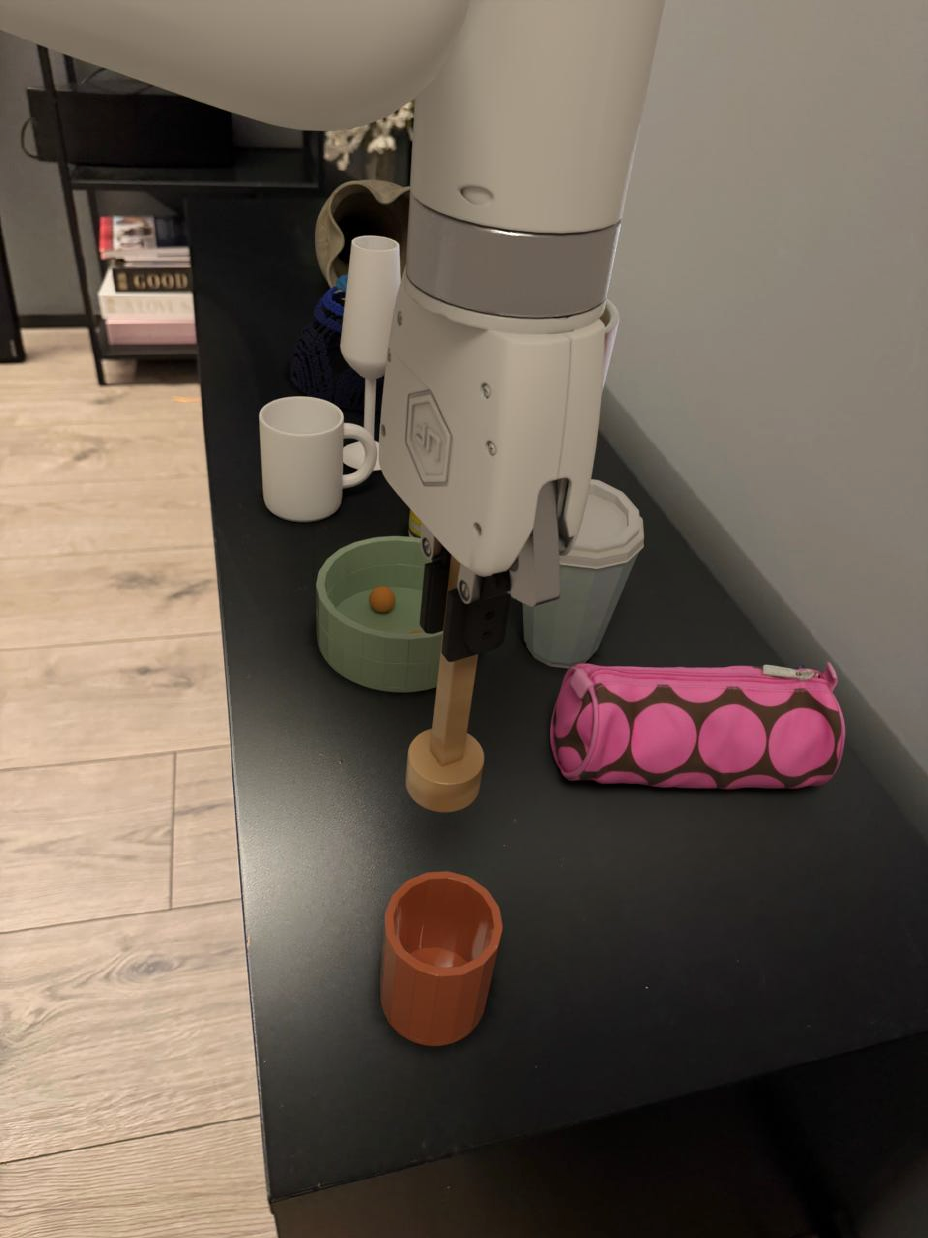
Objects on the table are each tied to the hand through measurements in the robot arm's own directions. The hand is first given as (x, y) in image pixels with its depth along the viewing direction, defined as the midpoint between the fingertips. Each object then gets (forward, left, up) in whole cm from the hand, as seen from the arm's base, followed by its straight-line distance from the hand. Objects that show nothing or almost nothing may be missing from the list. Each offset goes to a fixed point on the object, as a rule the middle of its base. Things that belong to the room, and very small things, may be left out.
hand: (461, 636), depth 45 cm
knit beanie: (+32, +75, -25) cm, 86 cm away
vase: (+46, +105, -25) cm, 117 cm away
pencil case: (+25, +3, -25) cm, 36 cm away
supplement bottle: (+22, +39, -25) cm, 52 cm away
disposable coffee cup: (+24, +19, -25) cm, 40 cm away
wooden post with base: (0, 0, -11) cm, 11 cm away
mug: (+14, +49, -25) cm, 57 cm away
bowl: (+12, +26, -25) cm, 38 cm away
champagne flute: (+23, +56, -25) cm, 66 cm away
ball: (+12, +30, -23) cm, 40 cm away
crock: (-2, -5, -25) cm, 26 cm away
